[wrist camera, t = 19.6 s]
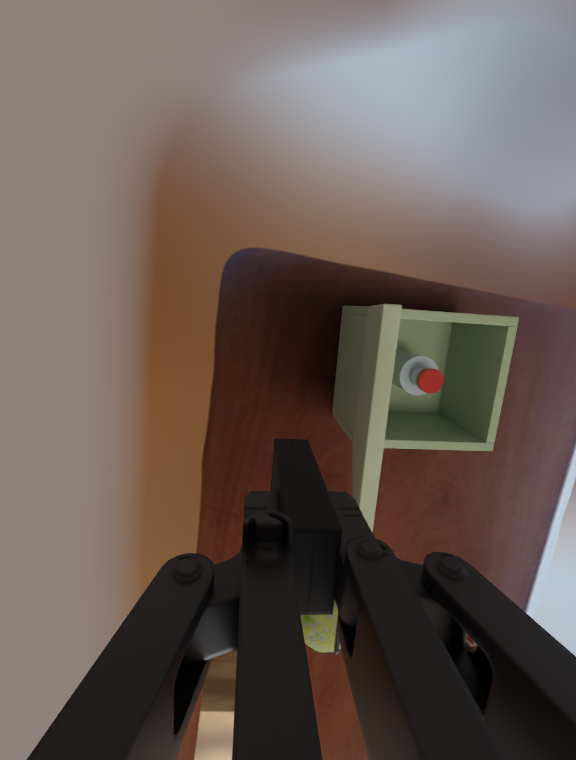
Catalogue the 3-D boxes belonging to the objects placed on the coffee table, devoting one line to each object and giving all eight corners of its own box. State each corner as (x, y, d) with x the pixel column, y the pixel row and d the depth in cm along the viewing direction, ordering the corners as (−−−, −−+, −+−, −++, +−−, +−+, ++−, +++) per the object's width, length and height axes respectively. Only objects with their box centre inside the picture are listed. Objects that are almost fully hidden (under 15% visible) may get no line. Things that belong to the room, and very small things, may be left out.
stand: (215, 596, 55) (200, 711, 40) (279, 599, 56) (289, 712, 41) (208, 649, 57) (191, 780, 42) (270, 652, 58) (277, 779, 43)
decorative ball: (298, 549, 55) (308, 602, 45) (358, 562, 56) (380, 617, 47) (278, 603, 57) (283, 665, 47) (337, 614, 58) (354, 677, 48)
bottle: (372, 361, 49) (402, 376, 39) (402, 341, 49) (440, 351, 39) (390, 389, 50) (423, 410, 40) (419, 370, 50) (460, 386, 40)
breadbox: (456, 313, 49) (519, 317, 38) (439, 418, 53) (493, 451, 41) (342, 305, 48) (371, 306, 36) (331, 414, 51) (355, 447, 39)
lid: (402, 304, 19) (383, 303, 19) (369, 555, 22) (353, 552, 22) (378, 306, 35) (368, 306, 36) (361, 450, 39) (351, 448, 39)
